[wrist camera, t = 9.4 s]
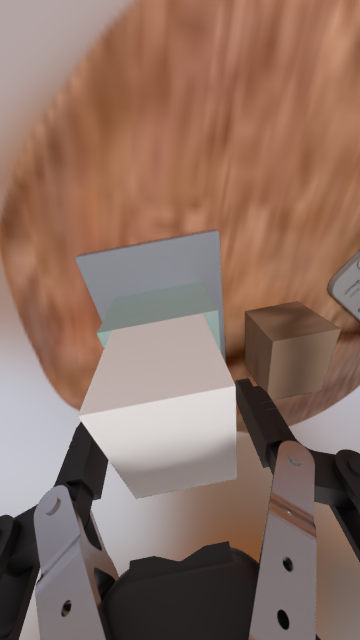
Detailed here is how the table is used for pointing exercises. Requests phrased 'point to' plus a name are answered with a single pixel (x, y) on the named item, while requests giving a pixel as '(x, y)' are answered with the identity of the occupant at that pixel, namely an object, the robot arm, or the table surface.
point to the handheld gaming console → (348, 286)
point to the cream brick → (164, 407)
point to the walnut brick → (288, 349)
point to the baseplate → (157, 283)
